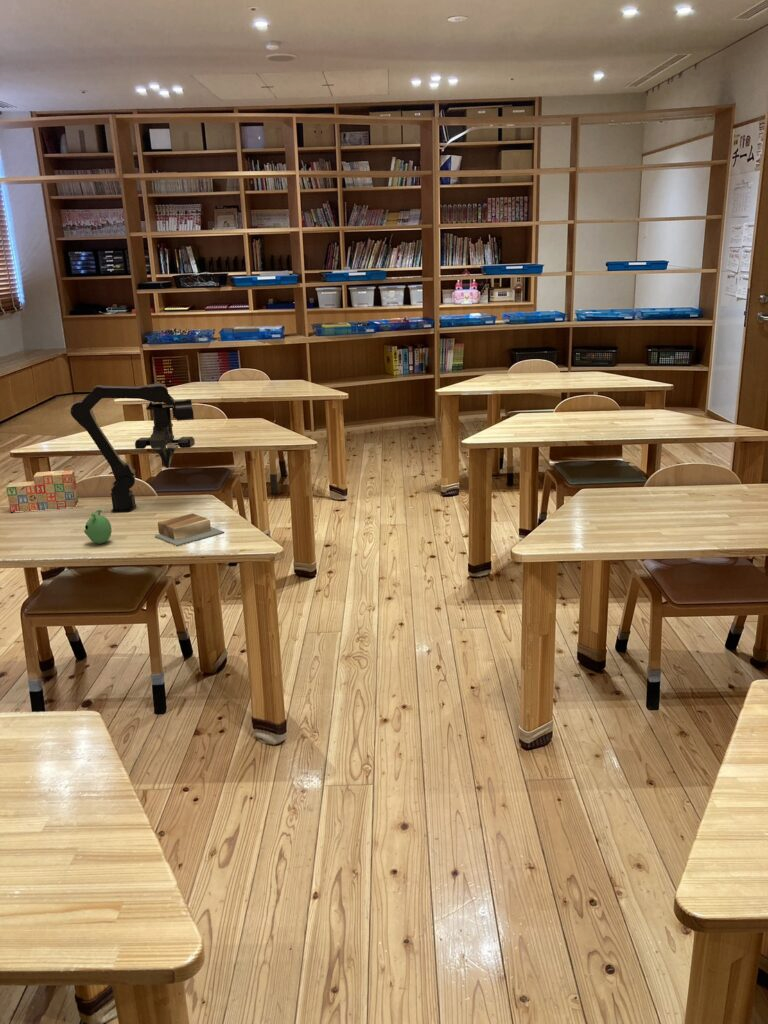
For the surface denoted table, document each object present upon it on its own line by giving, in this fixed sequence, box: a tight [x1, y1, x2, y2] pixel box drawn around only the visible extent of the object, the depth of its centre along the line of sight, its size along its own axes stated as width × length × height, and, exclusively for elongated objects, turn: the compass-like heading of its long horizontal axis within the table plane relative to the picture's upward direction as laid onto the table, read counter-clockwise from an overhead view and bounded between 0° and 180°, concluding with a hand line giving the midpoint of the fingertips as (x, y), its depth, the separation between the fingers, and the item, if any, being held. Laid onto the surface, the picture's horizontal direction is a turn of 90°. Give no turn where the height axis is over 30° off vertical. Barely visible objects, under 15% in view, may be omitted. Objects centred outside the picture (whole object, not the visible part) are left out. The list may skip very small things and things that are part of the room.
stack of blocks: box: [6, 469, 79, 513], centre depth 276 cm, size 21×6×12 cm, turn 101°
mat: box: [154, 526, 225, 547], centre depth 243 cm, size 13×16×1 cm
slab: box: [157, 513, 212, 540], centre depth 244 cm, size 4×12×10 cm
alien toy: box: [83, 509, 112, 545], centre depth 237 cm, size 7×8×10 cm
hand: (167, 467), depth 273 cm, fingers closed
